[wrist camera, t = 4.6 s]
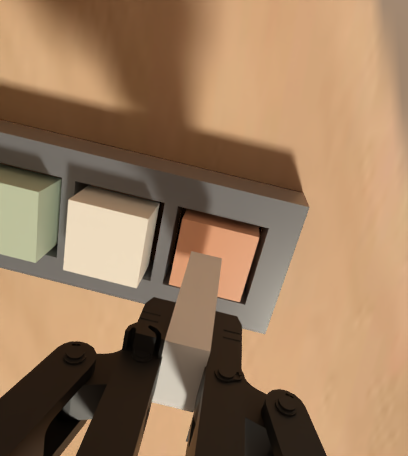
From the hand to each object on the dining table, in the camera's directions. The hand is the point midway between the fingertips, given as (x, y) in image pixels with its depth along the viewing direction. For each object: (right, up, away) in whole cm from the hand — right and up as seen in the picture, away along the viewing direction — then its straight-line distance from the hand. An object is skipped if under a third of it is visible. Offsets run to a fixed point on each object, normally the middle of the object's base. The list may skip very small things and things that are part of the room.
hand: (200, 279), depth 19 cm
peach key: (+1, +2, +4) cm, 4 cm away
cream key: (-5, +3, +3) cm, 6 cm away
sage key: (-10, +4, +3) cm, 11 cm away
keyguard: (-4, +3, +4) cm, 7 cm away
